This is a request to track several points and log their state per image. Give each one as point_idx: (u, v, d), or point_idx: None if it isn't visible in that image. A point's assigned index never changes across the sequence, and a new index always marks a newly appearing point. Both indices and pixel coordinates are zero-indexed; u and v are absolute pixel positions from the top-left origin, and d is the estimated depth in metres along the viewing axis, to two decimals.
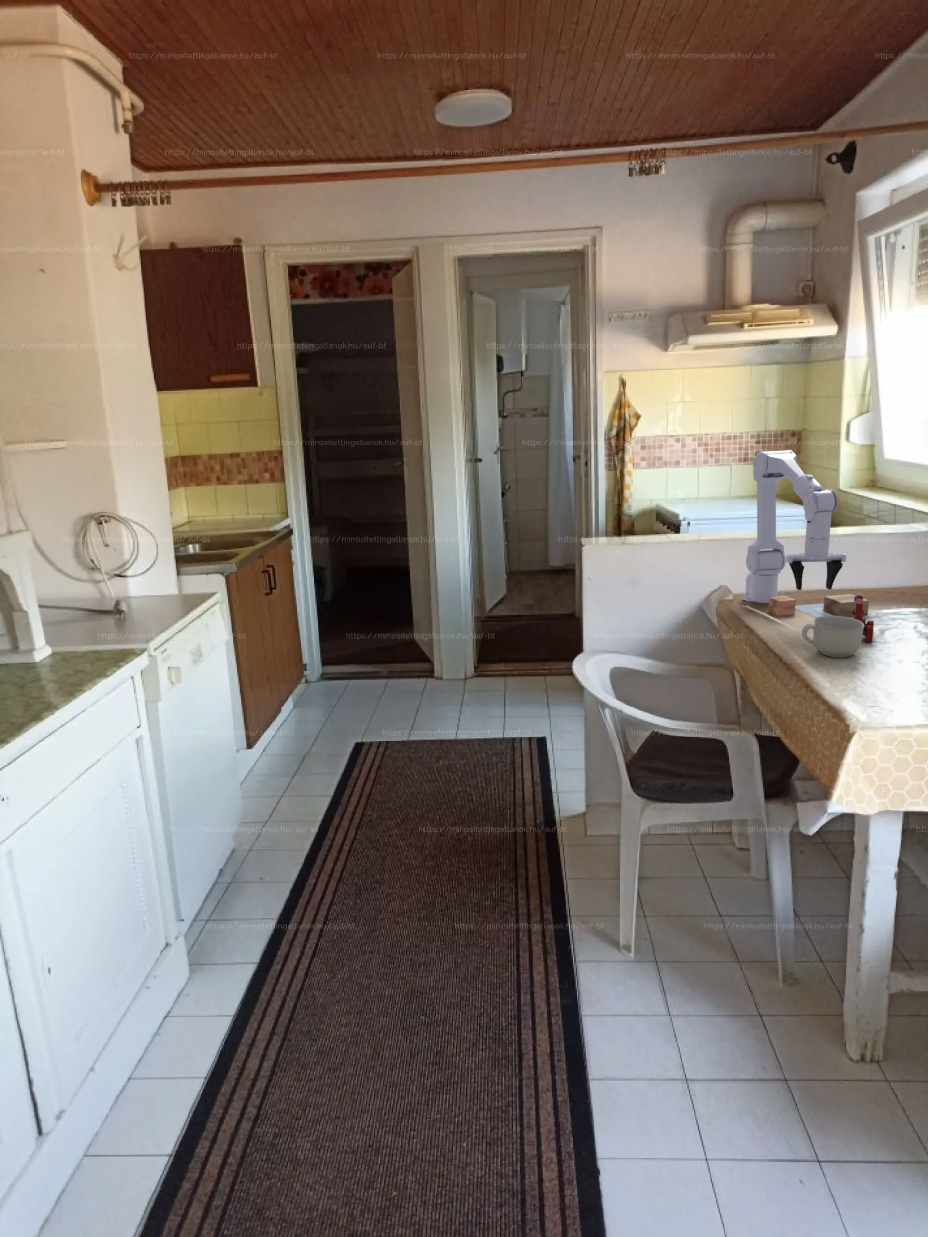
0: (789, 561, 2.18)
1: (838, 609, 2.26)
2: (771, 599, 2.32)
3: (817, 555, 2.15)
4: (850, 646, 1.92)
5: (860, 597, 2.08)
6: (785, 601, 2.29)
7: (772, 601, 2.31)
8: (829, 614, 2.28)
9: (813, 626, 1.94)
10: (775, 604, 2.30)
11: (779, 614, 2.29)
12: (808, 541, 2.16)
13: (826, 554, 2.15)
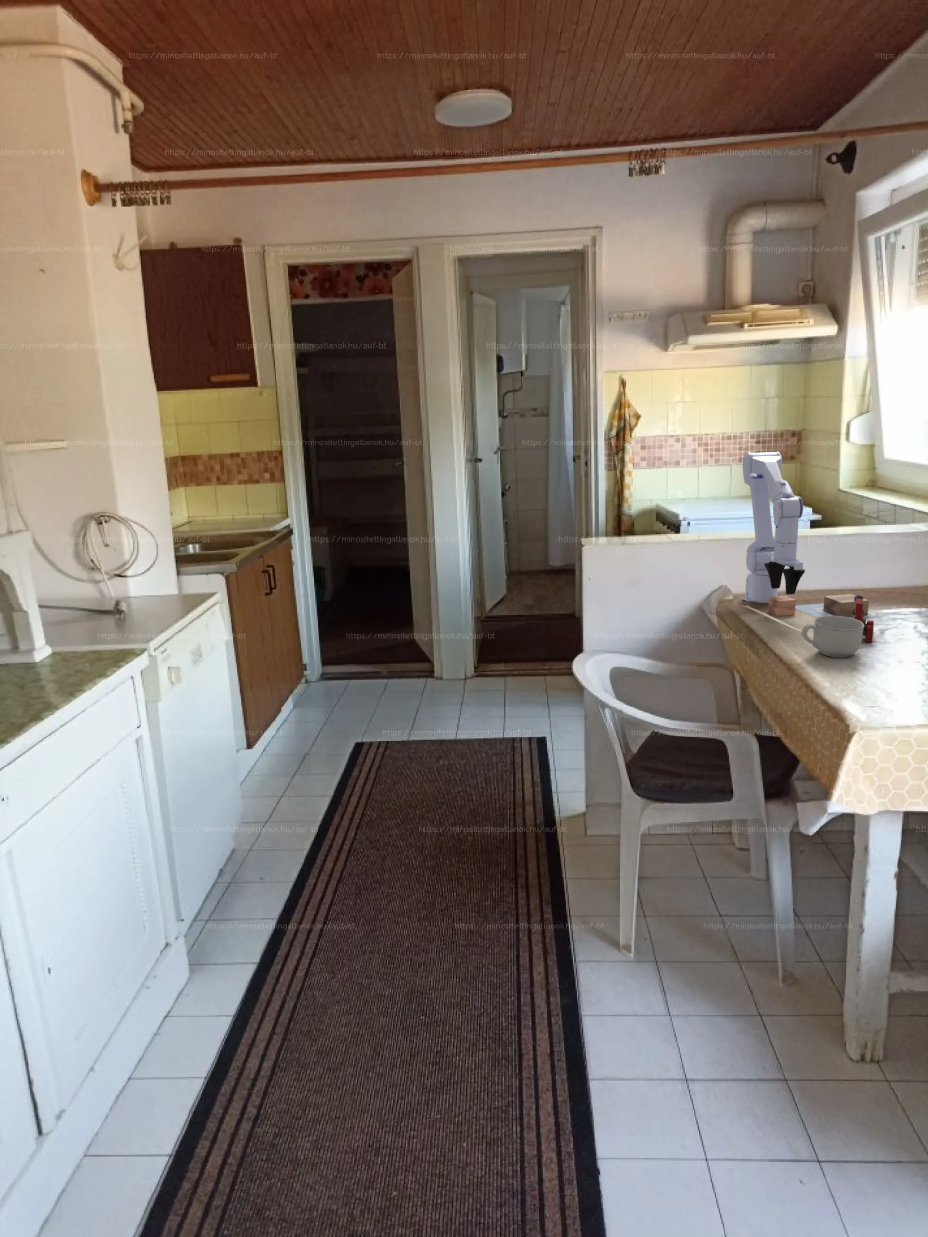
0: (767, 559, 2.35)
1: (838, 609, 2.26)
2: (771, 599, 2.32)
3: (774, 557, 2.28)
4: (850, 646, 1.92)
5: (860, 597, 2.08)
6: (785, 601, 2.29)
7: (772, 601, 2.31)
8: (829, 614, 2.28)
9: (813, 626, 1.94)
10: (775, 604, 2.30)
11: (779, 614, 2.29)
12: None
13: (781, 558, 2.26)
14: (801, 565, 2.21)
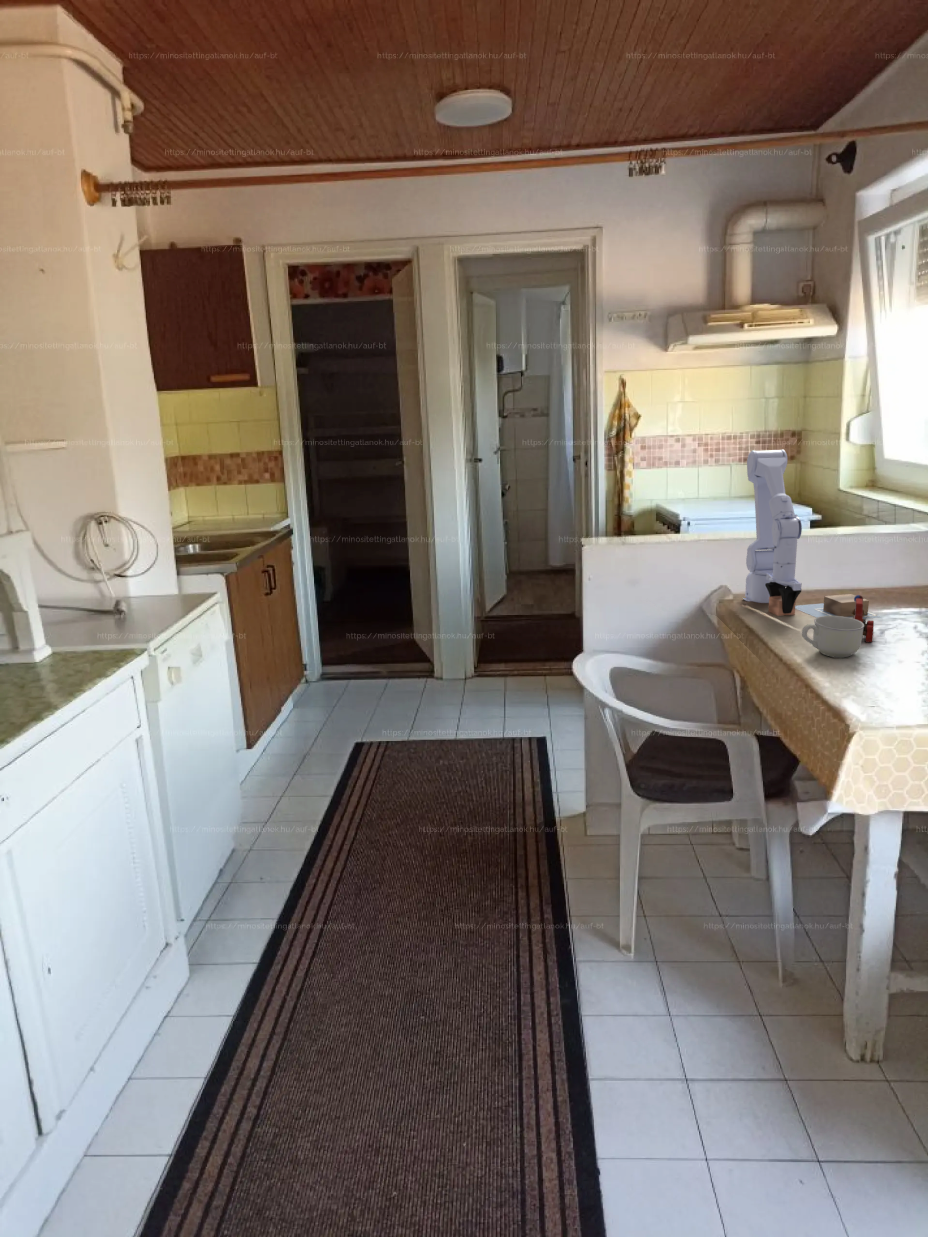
0: (766, 578, 2.36)
1: (838, 609, 2.26)
2: (771, 599, 2.32)
3: (773, 577, 2.30)
4: (850, 646, 1.92)
5: (860, 597, 2.08)
6: None
7: (772, 601, 2.31)
8: (829, 614, 2.28)
9: (813, 626, 1.94)
10: (775, 604, 2.30)
11: (779, 614, 2.29)
12: None
13: (779, 578, 2.27)
14: (800, 586, 2.23)
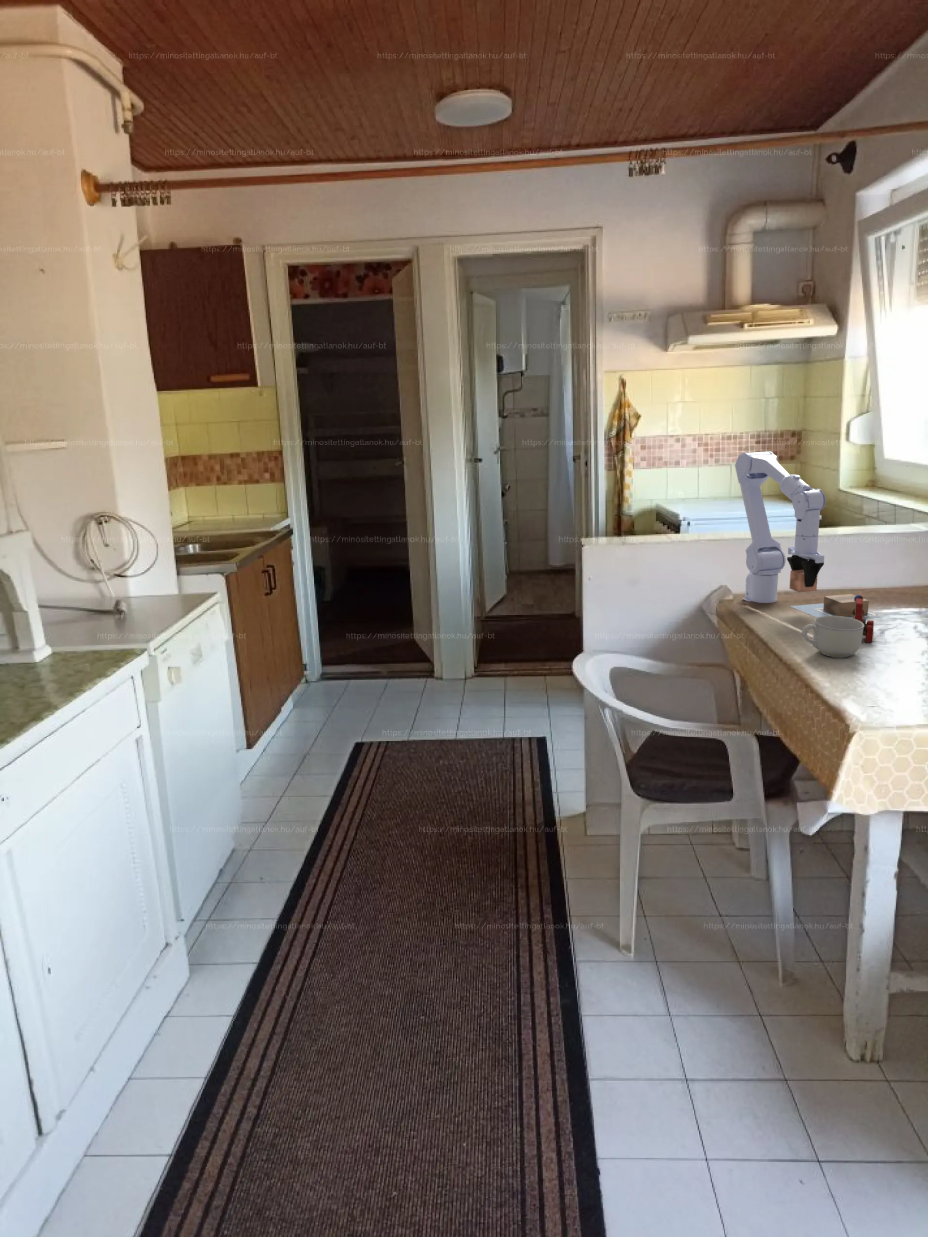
0: (788, 552, 2.34)
1: (838, 609, 2.26)
2: (792, 572, 2.29)
3: (795, 550, 2.27)
4: (850, 646, 1.92)
5: (860, 597, 2.08)
6: None
7: (793, 574, 2.29)
8: (829, 614, 2.28)
9: (813, 626, 1.94)
10: (797, 578, 2.27)
11: (801, 587, 2.27)
12: None
13: (802, 551, 2.25)
14: (822, 558, 2.20)
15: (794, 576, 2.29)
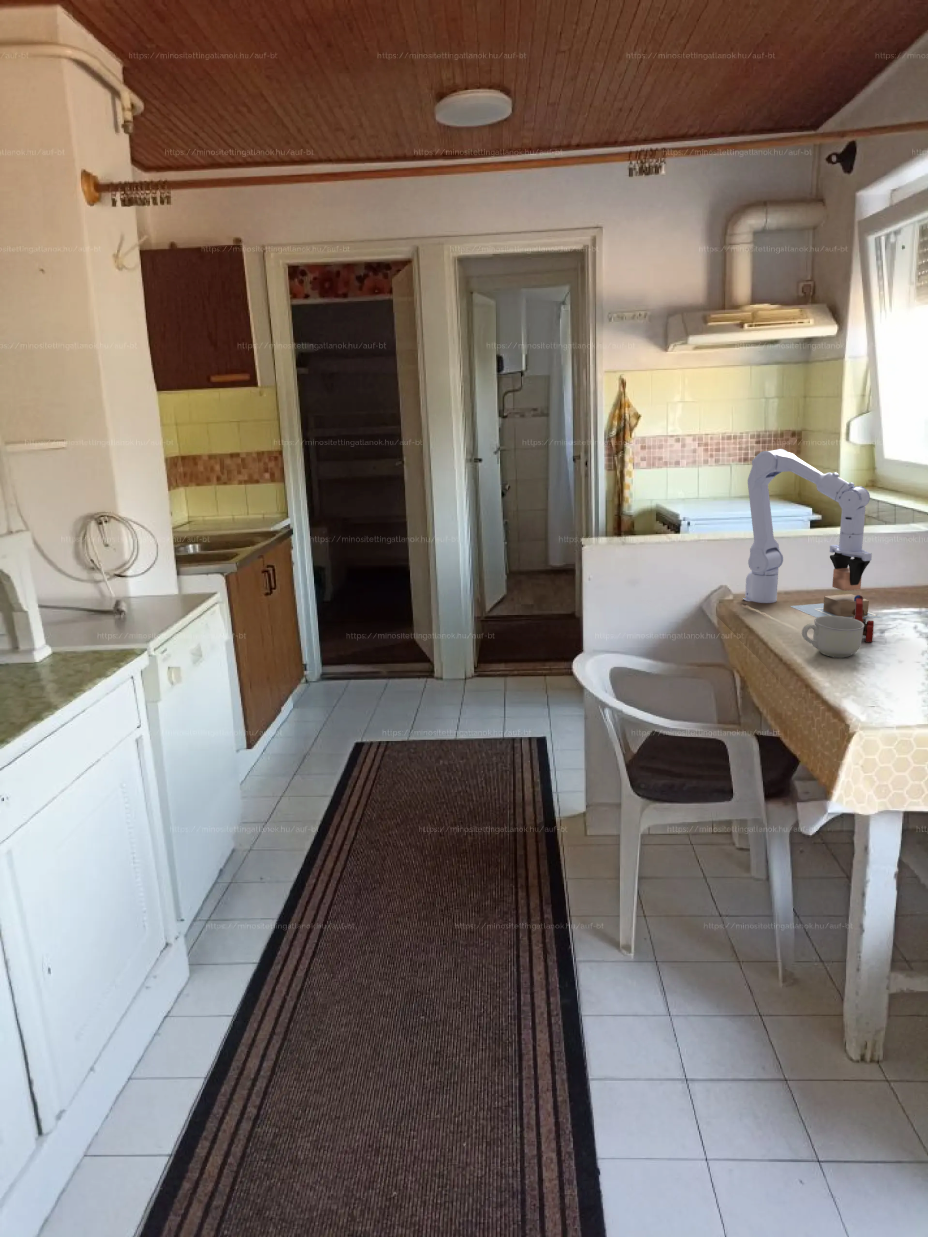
0: (830, 550, 2.32)
1: (838, 609, 2.26)
2: (836, 571, 2.28)
3: (839, 548, 2.25)
4: (850, 646, 1.92)
5: (860, 597, 2.08)
6: None
7: (837, 573, 2.27)
8: (829, 614, 2.28)
9: (813, 626, 1.94)
10: (841, 576, 2.26)
11: (846, 586, 2.25)
12: None
13: (847, 549, 2.23)
14: (870, 556, 2.19)
15: (838, 574, 2.27)
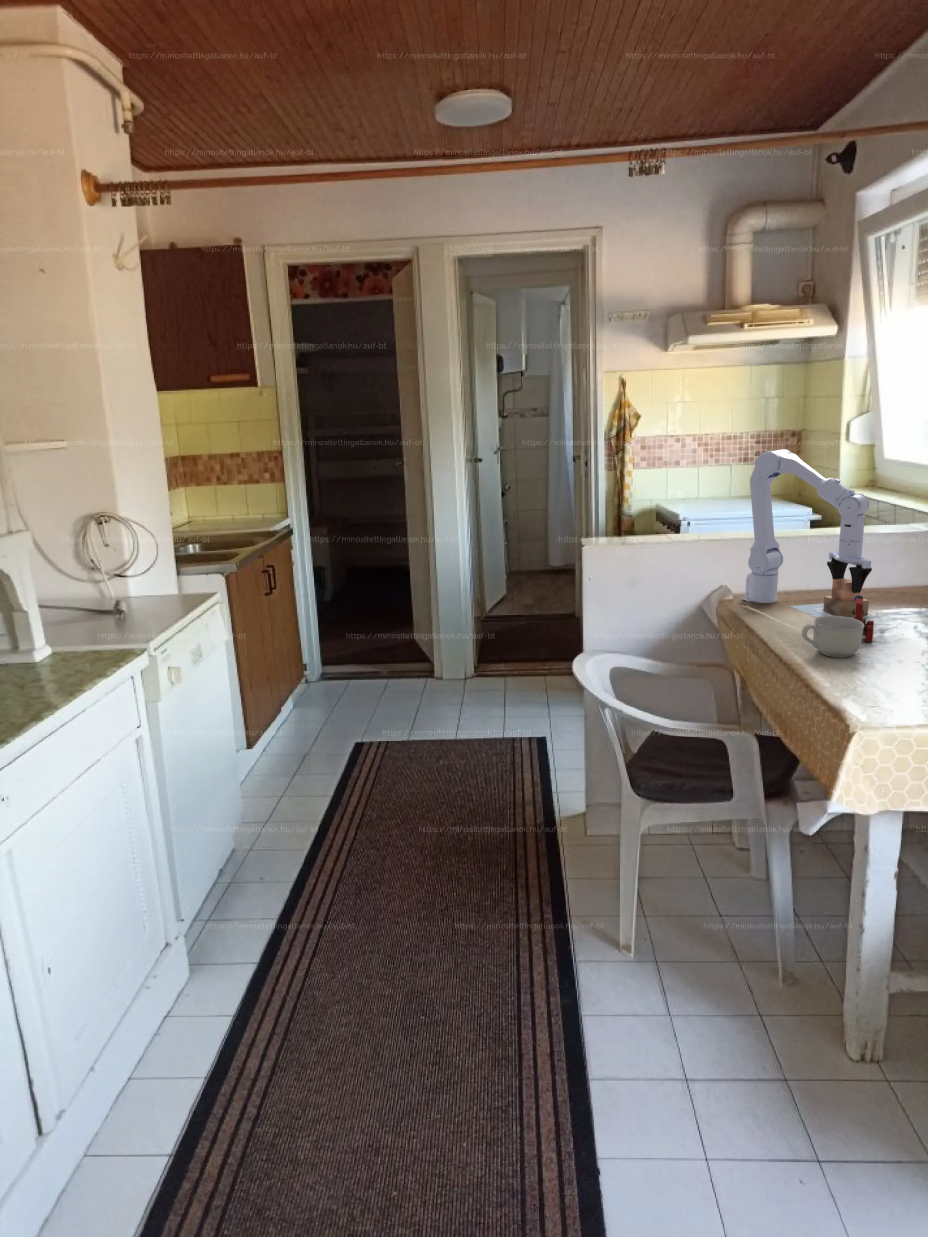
0: (829, 557, 2.33)
1: (838, 609, 2.26)
2: (835, 581, 2.28)
3: (839, 555, 2.26)
4: (850, 646, 1.92)
5: (860, 597, 2.08)
6: (851, 583, 2.25)
7: (836, 583, 2.28)
8: (829, 614, 2.28)
9: (813, 626, 1.94)
10: (840, 586, 2.26)
11: (845, 596, 2.26)
12: None
13: (847, 556, 2.24)
14: (869, 563, 2.19)
15: (837, 585, 2.28)
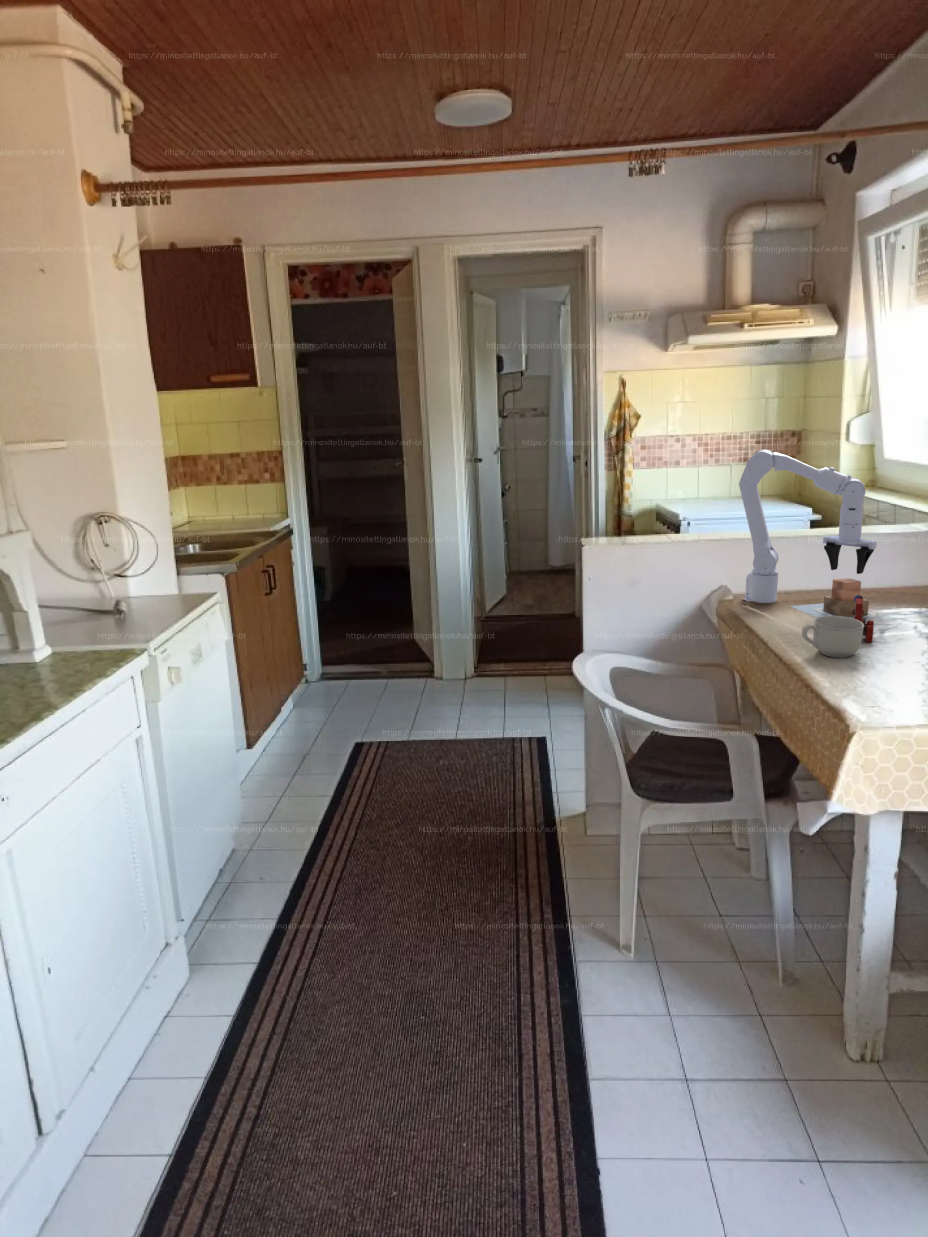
0: (823, 541, 2.39)
1: (838, 609, 2.26)
2: (835, 581, 2.28)
3: (841, 539, 2.32)
4: (850, 646, 1.92)
5: (860, 597, 2.08)
6: (851, 583, 2.25)
7: (836, 583, 2.28)
8: (829, 614, 2.28)
9: (813, 626, 1.94)
10: (840, 586, 2.26)
11: (845, 596, 2.26)
12: (839, 525, 2.34)
13: (851, 539, 2.31)
14: (875, 544, 2.28)
15: (837, 585, 2.28)
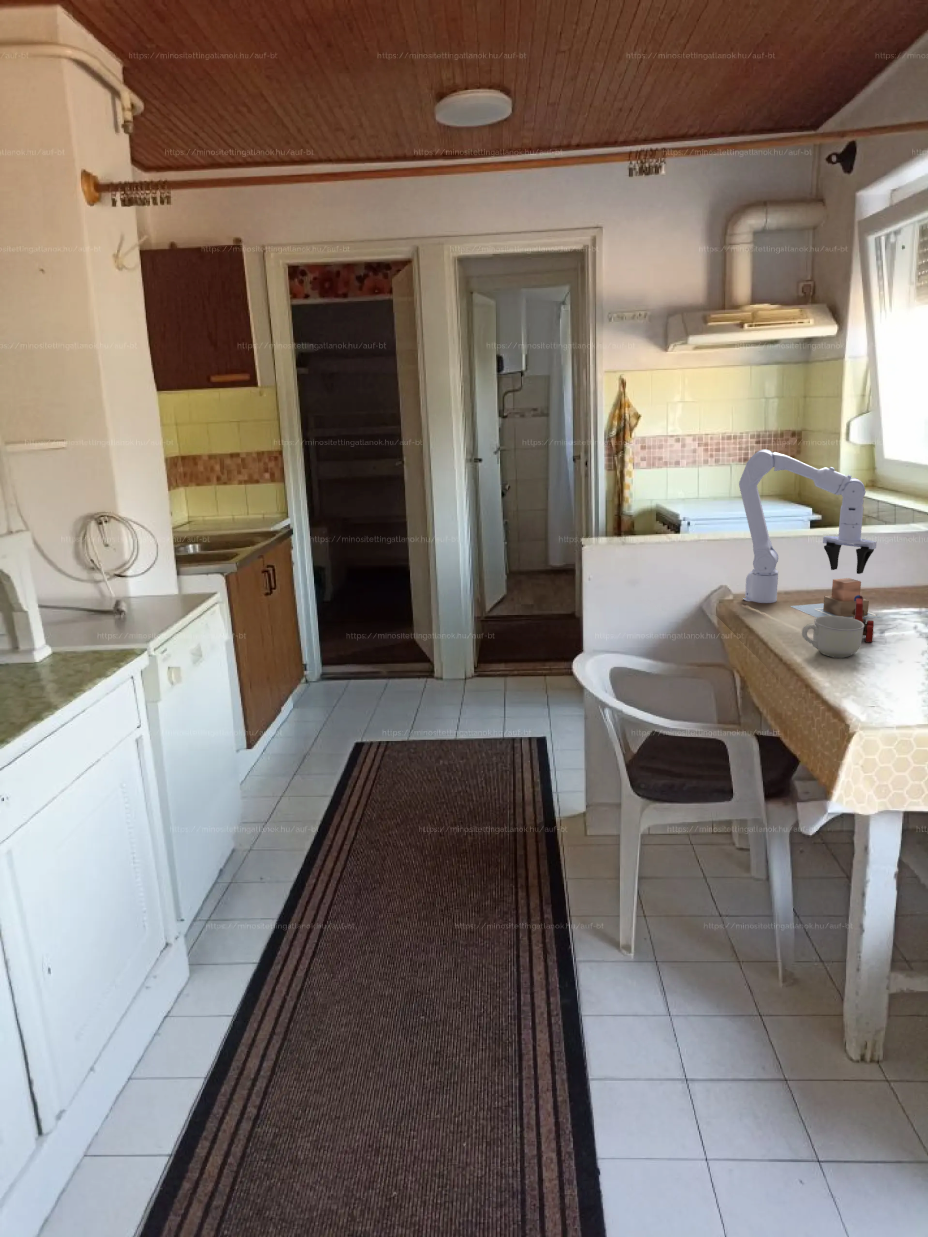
0: (823, 541, 2.39)
1: (838, 609, 2.26)
2: (835, 581, 2.28)
3: (841, 538, 2.32)
4: (850, 646, 1.92)
5: (860, 597, 2.08)
6: (851, 583, 2.25)
7: (836, 583, 2.28)
8: (829, 614, 2.28)
9: (813, 626, 1.94)
10: (840, 586, 2.26)
11: (845, 596, 2.26)
12: (839, 525, 2.34)
13: (851, 539, 2.31)
14: (875, 544, 2.28)
15: (837, 585, 2.28)
